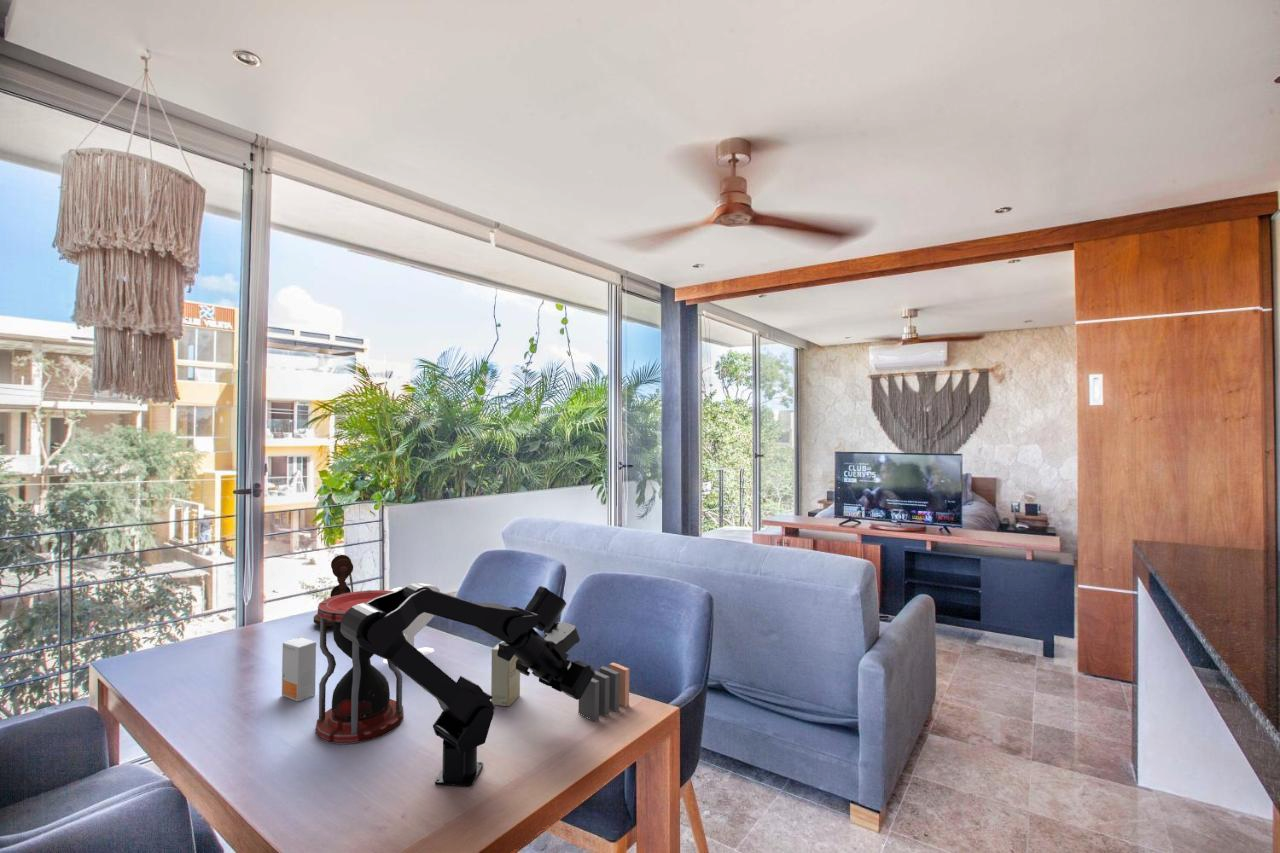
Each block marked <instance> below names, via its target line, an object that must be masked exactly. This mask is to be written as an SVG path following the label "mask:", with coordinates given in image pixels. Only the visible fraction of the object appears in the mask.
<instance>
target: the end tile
mask: <svg viewBox="0 0 1280 853" xmlns="http://www.w3.org/2000/svg"><path fill="white" fill-rule="evenodd" d="M608 668H609V669H612V670H614V671H617V672H619V673H620V676H619V706H622V707H624V708H626V707H628V706H630V668H629V667H626V666H623V665H621V664H618V663H616V662H611V663H609V667H608Z"/></svg>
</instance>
